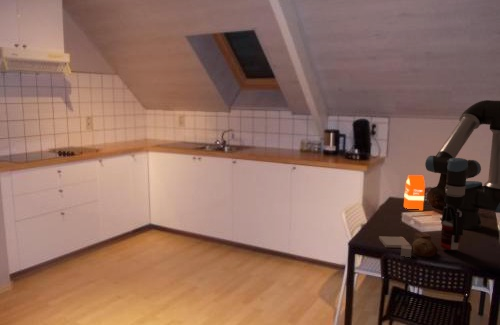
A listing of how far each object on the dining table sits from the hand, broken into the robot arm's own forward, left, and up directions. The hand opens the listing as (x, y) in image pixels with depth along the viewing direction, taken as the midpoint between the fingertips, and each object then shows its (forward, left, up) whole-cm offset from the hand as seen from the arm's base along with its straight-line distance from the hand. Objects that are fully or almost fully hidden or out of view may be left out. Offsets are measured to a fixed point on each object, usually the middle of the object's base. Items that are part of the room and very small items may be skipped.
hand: (449, 245), depth 187 cm
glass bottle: (-28, -72, -3) cm, 77 cm away
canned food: (0, 0, -1) cm, 1 cm away
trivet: (+21, -8, -3) cm, 23 cm away
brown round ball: (+9, -7, -3) cm, 12 cm away
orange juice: (-9, -68, -3) cm, 68 cm away
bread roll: (+12, +3, -3) cm, 13 cm away
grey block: (+21, +7, -3) cm, 23 cm away
